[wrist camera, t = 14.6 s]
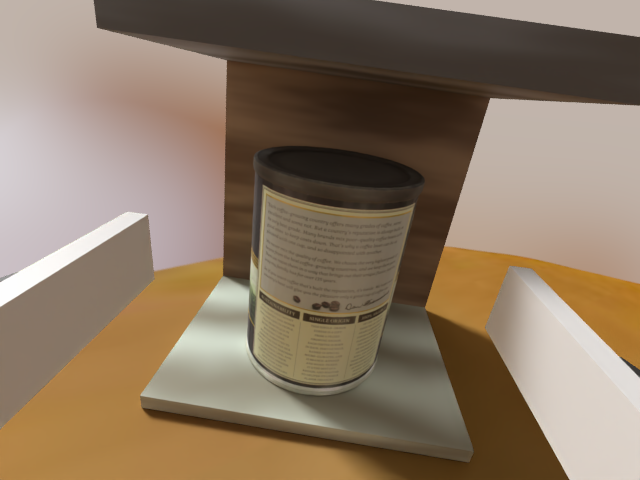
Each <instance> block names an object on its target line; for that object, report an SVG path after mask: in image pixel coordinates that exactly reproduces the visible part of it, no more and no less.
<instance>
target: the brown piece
mask: <svg viewBox="0 0 640 480" xmlns="http://www.w3.org/2000/svg"><path fill="white" fill-rule="evenodd" d="M94 6H95V14H96V23H97V28H100V29H105V30H109V31H112V32H116V33H121V34H124V35H128V36H132V37H137V38H141V39H144V40H149V41H152V42H156V43H160V44H164V45H169V46H172V47H176V48H180V49H184V50H188V51H192V52H197V53H201V54H204V55H208V56H212V57H216V58H221V59H224V60H227V89H226V147H225V148H226V149H225V204H224V260H223V277H222V278H221V280H220V281H219V283H218V284H217V285H216V287H215V288H214V290H213V291H212V293H211V294H210V296H209V297H208V298H207V300H206V301H205V303H204V304H203V306H202V307H201V309H200V310H199V311H198V313H197V314H196V316H195V317H194V319H193V320H192V322H191V323H190V324H189V326H188V327H187V329H186V330H185V332H184V333H183V335H182V336H181V337H180V339H179V340H178V342H177V343H176V345H175V346H174V348H173V349H172V351H171V352H170V353H169V355H168V356H167V358H166V359H165V361H164V362H163V364H162V365H161V366H160V368H159V369H158V371H157V372H156V374H155V375H154V377H153V378H152V379H151V381H150V382H149V384H148V385H147V387H146V388H145V390H144V391H143V392H142V394H141V395H140V398H141V407H142V408H147V409H153V410H159V411H165V412H171V413H177V414H183V415H189V416H195V417H201V418H207V419H213V420H219V421H224V422H230V423H236V424H242V425H248V426H254V427H260V428H266V429H272V430H278V431H284V432H290V433H296V434H302V435H308V436H314V437H320V438H326V439H332V440H337V441H343V442H349V443H355V444H361V445H367V446H373V447H379V448H385V449H391V450H397V451H403V452H409V453H415V454H421V455H427V456H433V457H439V458H444V459H450V460H456V461H462V462H468V463H469V461H470V459H471V457H472V455H473V453H474V450H473V447H472V444H471V441H470V438H469V435H468V432H467V429H466V426H465V423H464V420H463V417H462V415H461V412H460V409H459V406H458V403H457V400H456V397H455V394H454V391H453V388H452V385H451V382H450V379H449V377H448V374H447V371H446V368H445V365H444V362H443V359H442V356H441V353H440V350H439V347H438V344H437V341H436V339H435V336H434V333H433V330H432V327H431V324H430V321H429V318H428V315H427V312H426V309H425V306H426V303H427V299H428V296H429V293H430V290H431V286H432V283H433V280H434V277H435V274H436V270H437V267H438V264H439V261H440V258H441V254H442V251H443V248H444V245H445V242H446V238H447V235H448V232H449V229H450V225H451V222H452V219H453V216H454V213H455V209H456V206H457V203H458V200H459V197H460V193H461V190H462V187H463V184H464V180H465V177H466V174H467V171H468V167H469V164H470V161H471V158H472V155H473V152H474V148H475V145H476V142H477V139H478V135H479V132H480V129H481V126H482V123H483V119H484V116H485V113H486V110H487V107H488V103H489V100H490V98H499V99H519V100H539V101H560V102H581V103H600V104H620V105H640V37H634V36H627V35H621V34H613V33H606V32H599V31H591V30H585V29H577V28H570V27H563V26H556V25H549V24H541V23H534V22H527V21H520V20H512V19H505V18H498V17H491V16H484V15H476V14H469V13H461V12H454V11H447V10H440V9H432V8H425V7H419V6H411V5H404V4H396V3H389V2H382V1H375V0H94ZM280 146H311V147H323V148H332V149H340V150H347V151H354V152H358V153H363V154H369V155H373V156H377V157H381V158H385V159H389V160H392V161H395V162H398V163H401V164H403V165H406V166H408V167H410V168H412V169H414V170H416V171H417V172H419V173H420V174H421V175H422V176H423V177H424V179H425V184H424V187H423V190H422V192H421V194H420V195H419V196H418V200H417V204H416V208H415V212H414V216H413V220H412V224H411V228H410V232H409V236H408V239H407V243H406V247H405V251H404V255H403V259H402V263H401V267H400V270H399V275H398V278H397V282H396V286H395V290H394V294H393V298H392V301H391V305H390V309H389V313H388V316H387V320H386V324H385V328H384V331H383V335H382V339H381V343H380V347H379V351H378V359H377V363H376V366H375V368H374V370H373V372H372V373H371V375H370V376H369V377H368V378H367V379H366V380H365V381H364V382H362V383H361V384H360V385H358V386H357V387H355V388H353V389H350V390H348V391H345V392H342V393H338V394H334V395H326V396H314V395H304V394H298V393H295V392H292V391H289V390H286V389H284V388H281V387H279V386H277V385H275V384H274V383H272V382H270V381H269V380H267V379H266V378H265V377H264V376H262V375H261V374H260V373H259V372H258V371H257V370H256V369H255V367H254V366H253V364H252V363H251V361H250V359H249V356H248V353H247V350H246V336H247V327H248V307H249V288H250V268H251V248H252V226H253V205H254V186H255V170H254V167H253V160H254V155H255V154H256V153H257V152H258V151H260V150H263V149H267V148H271V147H280Z"/></svg>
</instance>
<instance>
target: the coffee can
mask: <svg viewBox="0 0 640 480" xmlns="http://www.w3.org/2000/svg"><path fill="white" fill-rule="evenodd" d="M253 167H254V170H255V186H254V205H253V226H252V248H251V268H250V288H249V307H248V327H247V336H246V350H247V353H248V356H249V359H250V361H251V363H252V364H253V366H254V367H255V369H256V370H257V371H258V372H259V373H260V374H261V375H262V376H264V377H265V378H266V379H267V380H269V381H270V382H272V383H274V384H275V385H277V386H279V387H281V388H284V389H286V390H289V391H292V392H295V393H298V394H304V395H314V396H326V395H334V394H338V393H342V392H345V391H348V390H350V389H353V388H355V387H357V386H358V385H360V384H361V383H362V382H364V381H365V380H366V379H367V378H368V377H369V376H370V375H371V373H372V372H373V370H374V368H375V366H376V363H377V359H378V351H379V347H380V343H381V339H382V335H383V331H384V328H385V324H386V320H387V316H388V313H389V309H390V305H391V301H392V298H393V294H394V290H395V286H396V282H397V278H398V275H399V270H400V267H401V263H402V259H403V255H404V251H405V247H406V243H407V239H408V236H409V232H410V228H411V224H412V220H413V216H414V212H415V208H416V204H417V200H418V196H419V195H420V194H421V192H422V190H423V187H424V184H425V179H424V177H423V176H422V175H421V174H420V173H419V172H417V171H416V170H414V169H412V168H410V167H408V166H406V165H403V164H401V163H398V162H395V161H392V160H389V159H385V158H381V157H377V156H373V155H369V154H363V153H358V152H354V151H347V150H340V149H332V148H323V147H311V146H280V147H271V148H267V149H263V150H260V151H258V152H257V153H256V154H255V155H254V160H253Z"/></svg>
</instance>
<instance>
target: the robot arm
mask: <svg viewBox="0 0 640 480" xmlns="http://www.w3.org/2000/svg"><path fill="white" fill-rule="evenodd" d="M153 280H154V270H153V260H152V251H151V241H150V230H149V220H148V215H147V214H141V213H133V212H126V213H124V214H122V215H121V216H119V217H117V218H116V219H113V220H112V221H110V222H108V223H106V224H104V225H103V226H101V227H99V228H97V229H96V230H94V231H92V232H90V233H88V234H86V235H85V236H83V237H81V238H79V239H77V240H76V241H74V242H72V243H70V244H68V245H66V246H65V247H63V248H61V249H59V250H57V251H56V252H54V253H52V254H50V255H49V256H47V257H45V258H43V259H42V260H39V261H38V262H36V263H34V264H32V265H30V266H29V267H27V268H25V269H23V270H21V271H19V272H17V273H14V274H11V275H8V276H5V277H2V278H0V429H1V428H2V427H3V426H4V425H5V424H6V423H7V422H8V421H9V420H10V419H11V418H12V417H13V416H14V415H15V414H16V413H17V412H18V411H19V410H20V409H22V408H23V407H24V406H25V405H26V404H27V403H28V402H29V401H30V400H31V399H32V398H33V397H34V396H35V395H36V394H37V393H38V392H39V391H40V390H41V389H42V388H43V387H44V386H45V385H46V384H47V383H48V382H49V381H50V380H51V379H52V378H53V377H54V376H55V375H56V374H57V373H58V372H60V371H61V370H62V369H63V368H64V367H65V366H66V365H67V364H68V363H69V362H70V361H71V360H72V359H73V358H74V357H75V356H76V355H77V354H78V353H79V352H80V351H81V350H82V349H83V348H84V347H85V346H86V345H87V344H88V343H89V342H90V341H91V340H92V339H93V338H94V337H95V336H97V335H98V334H99V333H100V332H101V331H102V330H103V329H104V328H105V327H106V326H107V325H108V324H109V323H110V322H111V321H112V320H113V319H114V318H115V317H116V316H117V315H118V314H119V313H120V312H121V311H122V310H123V309H124V308H125V307H126V306H127V305H128V304H129V303H130V302H131V301H132V300H133V299H135V298H136V297H137V296H138V295H139V294H140V293H141V292H142V291H143V290H144V289H145V288H146V287H147V286H148V285H149V284H150V283H151V282H152V281H153ZM485 329H486V330H487V332H488V334H489V336H490V338H491V339H492V341H493V343H494V345H495V347H496V348H497V350H498V352H499V354H500V356H501V357H502V359H503V361H504V363H505V365H506V366H507V368H508V370H509V372H510V374H511V375H512V377H513V379H514V381H515V383H516V384H517V386H518V388H519V390H520V392H521V393H522V395H523V397H524V399H525V401H526V402H527V404H528V406H529V408H530V410H531V411H532V413H533V415H534V417H535V419H536V420H537V422H538V424H539V426H540V428H541V429H542V431H543V433H544V435H545V436H546V438H547V440H548V442H549V444H550V445H551V447H552V449H553V451H554V453H555V454H556V456H557V458H558V460H559V462H560V463H561V465H562V467H563V469H564V471H565V472H566V474H567V476H568V478H569V480H640V370H639V369H638V368H636V367H635V366H633V365H632V364H630V363H629V362H627V361H626V360H625V359H623V358H622V357H619V356H618V355H617V354H616V353H615V352H614V351H613V350H612V349H611V348H610V347H609V346H608V345H607V344H606V343H605V342H604V341H603V340H602V339H601V338H600V337H599V336H598V335H597V334H596V333H595V332H594V331H593V330H592V329H591V328H590V327H589V326H588V325H587V324H586V323H585V322H584V321H583V320H582V319H581V318H580V317H579V316H578V315H577V314H576V313H575V312H574V311H573V310H572V309H571V308H570V307H569V306H568V305H567V304H566V303H565V302H564V301H563V300H562V299H561V298H560V297H559V296H558V295H557V294H556V293H555V292H554V291H553V290H552V289H551V288H550V287H549V286H548V285H547V284H546V283H545V282H544V281H543V280H542V279H541V278H540V277H539V276H538V275H537V274H536V273H535V272H534V271H533V270H532V269H529V268H522V267H515V266H509V269H508V271H507V274H506V276H505V279H504V281H503V284H502V286H501V289H500V291H499V294H498V296H497V299H496V301H495V304H494V306H493V309H492V311H491V314H490V316H489V319H488V321H487V324H486V326H485Z"/></svg>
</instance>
